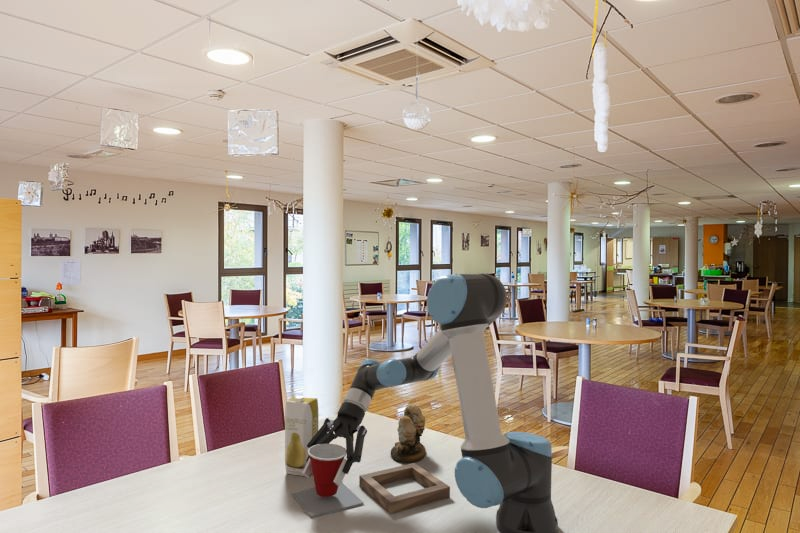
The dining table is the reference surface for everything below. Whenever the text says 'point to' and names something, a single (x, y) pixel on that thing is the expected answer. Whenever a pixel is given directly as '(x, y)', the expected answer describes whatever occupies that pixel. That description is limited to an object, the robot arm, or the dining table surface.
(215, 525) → the dining table surface
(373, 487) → the square wooden frame
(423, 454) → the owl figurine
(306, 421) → the juice carton
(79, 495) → the dining table surface
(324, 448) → the plastic cup
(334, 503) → the rubber mat
